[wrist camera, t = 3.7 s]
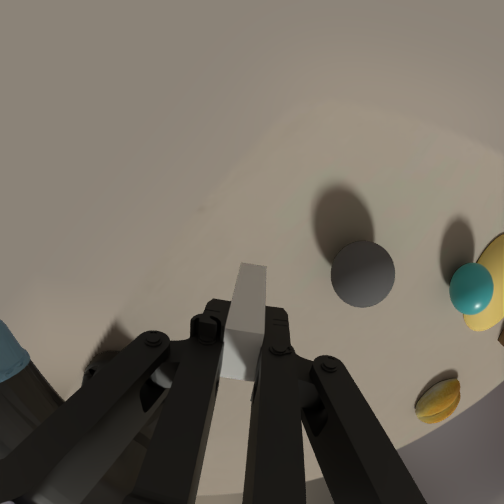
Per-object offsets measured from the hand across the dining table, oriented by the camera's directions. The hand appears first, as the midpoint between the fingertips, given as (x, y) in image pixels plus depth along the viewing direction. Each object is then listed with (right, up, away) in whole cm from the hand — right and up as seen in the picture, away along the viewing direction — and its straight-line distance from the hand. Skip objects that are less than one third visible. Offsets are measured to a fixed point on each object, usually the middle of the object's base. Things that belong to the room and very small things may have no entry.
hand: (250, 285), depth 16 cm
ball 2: (+23, -2, +5) cm, 24 cm away
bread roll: (+29, -21, +15) cm, 39 cm away
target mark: (+32, -2, +8) cm, 33 cm away
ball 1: (+9, 0, +5) cm, 10 cm away
